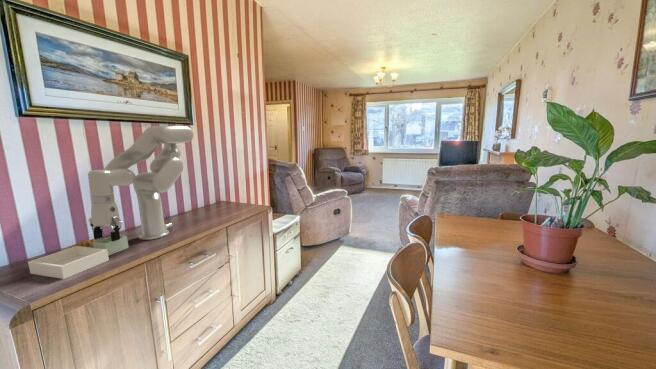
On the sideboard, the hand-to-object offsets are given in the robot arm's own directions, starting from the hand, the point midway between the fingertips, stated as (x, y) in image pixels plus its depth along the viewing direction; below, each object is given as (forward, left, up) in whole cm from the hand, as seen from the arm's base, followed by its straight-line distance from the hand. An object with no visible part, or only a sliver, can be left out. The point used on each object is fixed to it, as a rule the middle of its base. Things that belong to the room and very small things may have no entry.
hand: (107, 239), depth 114 cm
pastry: (0, -15, -6) cm, 16 cm away
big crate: (+14, 0, -6) cm, 15 cm away
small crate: (-1, 0, -6) cm, 6 cm away
